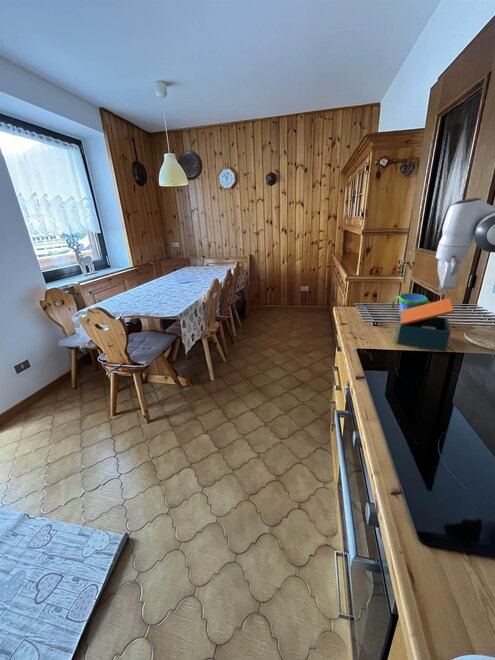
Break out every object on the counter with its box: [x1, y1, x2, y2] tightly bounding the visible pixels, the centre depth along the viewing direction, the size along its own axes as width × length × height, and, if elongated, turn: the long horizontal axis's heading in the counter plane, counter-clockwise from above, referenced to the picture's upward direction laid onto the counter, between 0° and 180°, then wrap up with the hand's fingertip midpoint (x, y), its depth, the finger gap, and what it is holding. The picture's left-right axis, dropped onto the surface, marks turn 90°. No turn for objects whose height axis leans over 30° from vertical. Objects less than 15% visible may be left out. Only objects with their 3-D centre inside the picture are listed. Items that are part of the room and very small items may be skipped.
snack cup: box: [391, 292, 432, 319], centre depth 123 cm, size 16×10×10 cm
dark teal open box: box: [396, 316, 452, 352], centre depth 107 cm, size 15×12×8 cm
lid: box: [400, 297, 455, 325], centre depth 103 cm, size 16×12×1 cm
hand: (441, 293), depth 99 cm, fingers closed
